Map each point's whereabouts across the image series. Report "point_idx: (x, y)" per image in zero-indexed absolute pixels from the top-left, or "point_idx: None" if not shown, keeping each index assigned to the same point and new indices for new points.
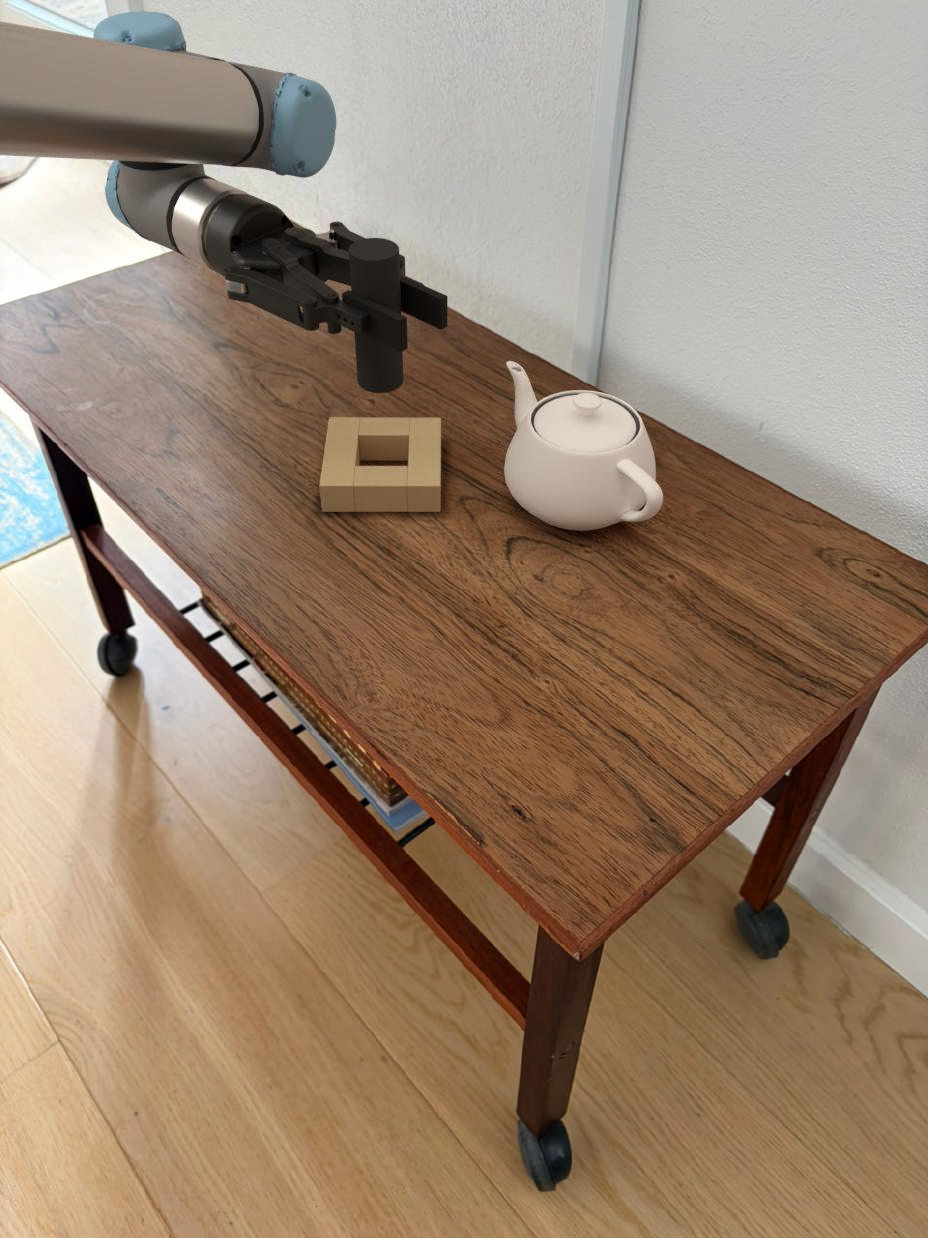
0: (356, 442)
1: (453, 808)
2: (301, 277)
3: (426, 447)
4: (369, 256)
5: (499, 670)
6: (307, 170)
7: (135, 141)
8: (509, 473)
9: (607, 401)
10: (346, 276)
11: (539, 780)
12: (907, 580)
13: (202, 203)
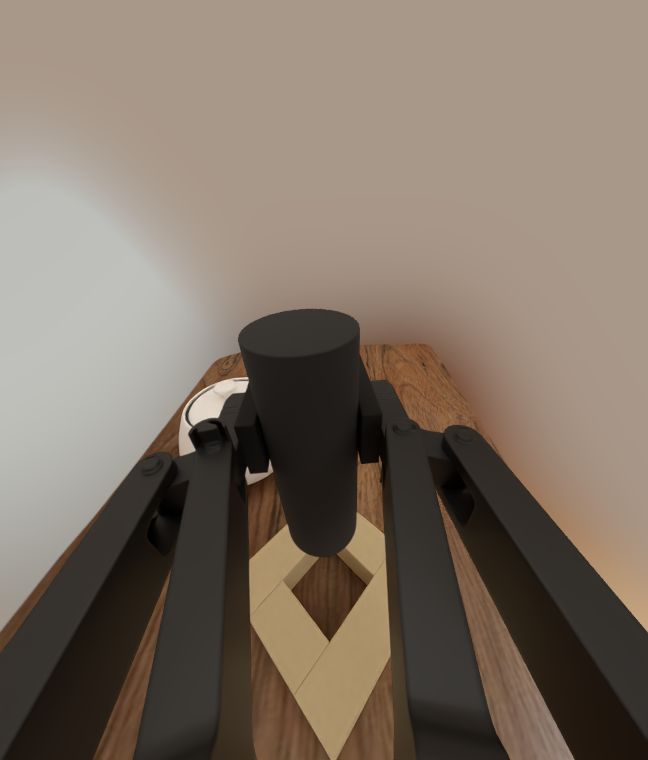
0: (343, 625)
1: (446, 373)
2: (444, 559)
3: (289, 541)
4: (332, 317)
5: None
6: None
7: None
8: None
9: (195, 405)
10: (243, 596)
11: (408, 367)
12: (224, 358)
13: None
